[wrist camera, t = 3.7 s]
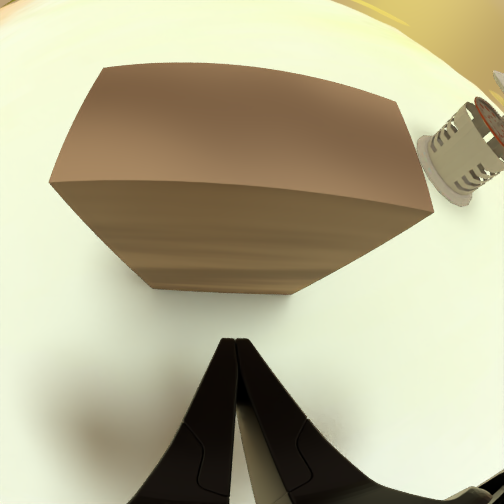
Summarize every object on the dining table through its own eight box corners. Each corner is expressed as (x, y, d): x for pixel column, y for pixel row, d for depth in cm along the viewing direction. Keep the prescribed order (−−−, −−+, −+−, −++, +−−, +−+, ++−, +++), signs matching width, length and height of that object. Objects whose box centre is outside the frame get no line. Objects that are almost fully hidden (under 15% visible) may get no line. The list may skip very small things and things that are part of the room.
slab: (291, 294, 18) (434, 212, 6) (152, 288, 17) (48, 182, 5) (289, 237, 19) (395, 101, 7) (158, 229, 18) (103, 67, 6)
